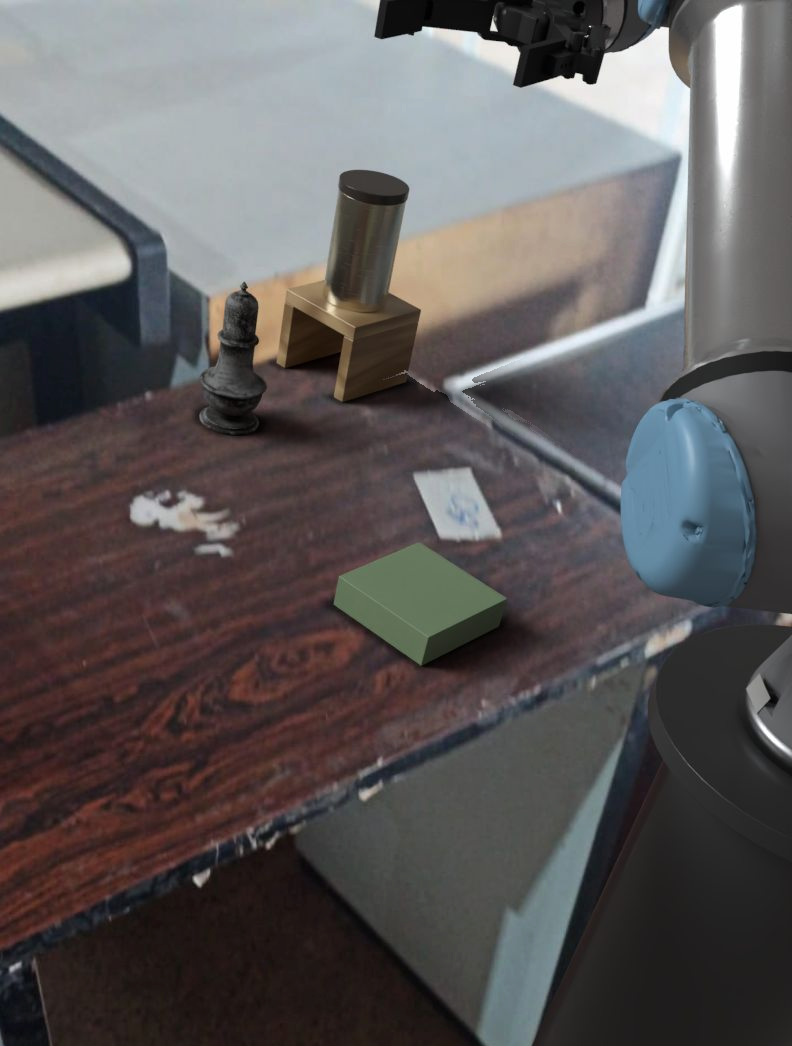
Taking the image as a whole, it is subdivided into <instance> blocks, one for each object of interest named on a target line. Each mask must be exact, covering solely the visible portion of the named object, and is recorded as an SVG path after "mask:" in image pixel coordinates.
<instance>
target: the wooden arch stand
mask: <svg viewBox="0 0 792 1046" xmlns="http://www.w3.org/2000/svg"><path fill="white" fill-rule="evenodd" d="M324 281H325V279H324V280H319V281H315V282H310V283H306V284H302V285H298V286H293V287H290V288H286V292H285V299H284V303H283V312H282V319H281V327H280V334H279V343H278V348H277V349H278V350H277V355H276V356H277V357H276V364H277V365H279V366H280V367H283V368H284V369H286V368H291V367H293V366H297V365H301V364H304V363H307V362H311V361H315V360H318V359H321V358H325V357H328V356H331V355H336V354H338V353H340V357H339V364H338V369H337V375H336V380H335V381H336V382H335V387H334V393H333V398H335V399H336V400H337V401H339V402H341V403H344V402H347V401H351V400H354V399H357V398H360V397H364V396H366V395H370V394H373V393H377V392H378V391H383V390H386V389H389V388H392V387H394V386H398V385H401V384H405V383H406V382H407V378H408V374H409V369H410V364H411V360H412V356H413V350H414V346H415V341H416V336H417V331H418V326H419V322H420V317H421V314H422V309H420V308H419V307H417V306H415V305H413V304H411V303H409V302H407V301H405V300H404V299H402V298H401V297H399V296H396V295H395V294H393V293H392V292H391V293H390V292H389V293H388V298H387V303H386V306H385V308H384V309H382V310H380V311H377V312H369V313H363V312H354V311H349V310H345V309H342V308H339V307H337V306H334V305H332V304H331V303H329V302H328V301H327V300H326V299H325V298H324V297H323V287H324ZM404 370H406V371H408V373H405V374H401V375H398V376H395V375H396V374H399V373H401V372H404ZM392 376H395V377H392ZM388 377H389V379H386V378H388ZM390 377H392V378H390ZM383 379H385V380H383Z"/></svg>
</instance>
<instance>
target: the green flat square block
mask: <svg viewBox="0 0 792 1046" xmlns="http://www.w3.org/2000/svg"><path fill="white" fill-rule="evenodd" d="M507 602H508V598H507V597H506V596H504V595H502V594H501V593H499V592H498V591H496V590H495V589H493V587H492V588H491V587H490V586H488V585H487V584H485V583H484V582H482V581H481V580H479V579H478V578H476V577H474V576H473V575H471V574H470V573H469V572H467V571H466V570H463V569H462V568H460V567H459V566H457V564H454V563H453V562H451V561H449V560H448V559H447V558H445V557H444V556H442V555H440V554H438V553H437V552H435V550H432V549H431V548H430V547H428V546H426V545H425V544H423V543H422V542H420V541H418V542H416V543H413V544H412V545H409V546H406V547H404V548H402V549H399V550H396V551H394V552H393V553H390V554H387V555H385V556H383V557H381V558H378V559H376V560H374V561H371V562H368V563H367V564H363V565H361V566H359V567H358V568H355V569H352V570H350V571H348V572H345V573H343V574H341V575H339V576H338V580H337V583H336V589H335V595H334V599H333V605H334V606H335V607H336V608H337V609H339V610H340V611H342V612H343V613H345V614H346V615H347V616H349V617H351V618H352V619H353V620H354V621H356V622H357V623H359V624H360V625H362V626H363V627H365V628H366V629H367V630H369V631H371V632H372V633H373V634H375V635H376V636H378V637H379V638H381V639H383V641H385V642H386V643H388V644H389V645H391V647H393V648H395V649H396V650H398V651H399V652H400V653H402V654H403V655H405V656H406V657H407V658H409V659H410V660H412V661H413V662H415V663H417V664H418V665H419V666H421V667H422V666H424V665H426V664H428V663H429V662H432V661H434V660H435V659H438V658H440V657H441V656H443V655H446V654H448V653H449V652H451V651H453V650H455V649H457V648H459V647H461V646H463V645H465V644H467V643H469V642H471V641H473V640H475V639H477V638H479V637H481V636H483V635H485V634H487V633H489V632H491V631H493V630H494V629H497V628H499V627H500V625H501V621H502V617H503V614H504V611H505V608H506V605H507Z"/></svg>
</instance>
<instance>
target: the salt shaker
mask: <svg viewBox="0 0 792 1046" xmlns="http://www.w3.org/2000/svg"><path fill="white" fill-rule="evenodd" d="M239 288H240V289H239V290H236V291H234V292H231V293H230V294H229V295H228V296H227V297H226V299H225V303H224V312H223V320H222V329H221V330H219V331H218V333H217V335H216V336H217V339H218V340H219V350H218V351H219V352H218V359H217V361H216V362H217V363H216V364H215V366H211V367H209V368H206V369H204V370H203V371H202V372H201V373H200V375H199V382H200V384H201V385H202V393H203V397H204V400H205V401H206V403H207V404H208V405H209V406H207V407H204V408H203V409H202V410H201V411H200V413H199V421H200V422H201V424H202V425H203V426H205V428H207V429H209V430H212V431H213V432H216V433H219V434H222V435H223V434H224V435H229V436H243V435H247V434H251V433H253V432H255V431H256V430H257V429H259V425H260V421H259V418H258V417H257V416H256V414H255V413H253V411H254V410H255V409H256V408H258V406H259V403H260V402H261V401H262V398H263V394H264V393H266V391H267V389H268V384H267V382H266V380H265V379H264V377H263V376H261V375H260V374H259V373H257V372H256V371H255V369H254V359H255V358H254V357H255V350H256V349H255V348H256V347H257V346H258V345H259V343H260V338H259V336H258V335H257V334H256V332H257V324H258V318H259V317H258V316H259V308H260V307H259V301H258V300H257V297H255V296H254V295H253V294H252V293H250V292H249V291H247V289H249V285H248V284H247V283H246V281H243V282H242V283H241V284H240V285H239Z"/></svg>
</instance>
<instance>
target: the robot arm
mask: <svg viewBox="0 0 792 1046" xmlns="http://www.w3.org/2000/svg"><path fill="white" fill-rule="evenodd" d="M492 23H493V24H494V26H495V29H496V30H491V28H492ZM424 27H425V28H432V29H439V30H440V29H442V30H448V31H449V30H450V31H459V32H460V31H461V32H469V33H477V35H478V36H479V37H480V38H481V39H482V40H484V41H490V42H499V43H505V44H506V45H508V46H509V47H515V48H517V51H518V52H519V57H518V62H517V65H516V70H515V73H514V78H513V81H512V82H513V84H512V86H515V87H518V88H520V89H522V88H525V87H529V86H533V85H535V84H539V83H542V82H545V81H550V80H553V79H556V78H558V77H562V78H563V79H565V80H570V79H573V80H574V79H575V76H576V74H579V75H582V76H581V77H582V78H581V80H582V82H584V83H585V84H586V85H590V86H591V85H596V84H597V82H598V79H599V75H600V71H601V67H602V64H603V60H604V57H605V54H611V53H612V54H613V53H621V52H623V51H625V50H628V49H630V48H631V47H634V46H637V44H639V43H641V42H642V41H644V40H645V39H647V38H648V37H650V35H652V34H653V33H654V31H656V30H661V28H668V56H669V57H668V58H669V61H670V65H671V67H672V69H673V71H674V73H675V76H676V77H678V79H679V80H680V81H681V82H682V84H684V85H685V86H686V87H687V88H689V119H688V120H689V121H688V156H687V157H688V159H687V160H688V161H687V191H686V192H687V195H686V197H687V199H686V233H685V234H686V235H685V273H684V274H685V275H684V306H683V307H684V310H683V316H684V317H683V344H682V345H683V348H682V349H683V350H682V371H681V372H680V373H679V374H677V375H676V376H675V377H674V378H673V379H672V380H671V381H670V382H669V383H668V384H667V386H666V387H665V388H664V389H663V391H662V393H661V394H660V396H659V400H658V403H656V404H654V405H652V407H650V408H649V409H648V410H647V411H646V413H645V414H644V415H643V417H642V418H641V419H640V421H639V423H638V424H637V426H636V428H635V430H634V433H633V434H632V438H631V440H630V442H629V445H628V450H627V453H626V457H625V458H626V459H625V464H624V465H625V469H626V475H625V478H624V479H623V480H622V482H621V487H620V488H621V489H620V525H621V534H622V535H621V536H622V541H623V546H624V549H625V553H626V557H627V560H628V563H629V565H630V567H631V568H632V571H633V573H634V574H635V576H636V577H637V579H639V580H640V581H641V582H642V583H643V584H644V585H645V587H647V588H648V590H650V591H651V592H653V593H655V594H658V595H660V596H664V597H667V598H674V599H679V600H685V601H690V602H693V603H695V604H697V605H700V606H702V607H707V608H713V609H715V608H719V607H726V608H735V609H744V610H752V611H760V612H769V613H779V614H787V615H792V0H379V4H378V11H377V17H376V23H375V30H374V34H373V37H374V38H376V39H378V40H385V39H392V38H396V37H399V36H404V35H408V36H415V33H419V32H422V31H423V28H424ZM740 717H741V720H742V723H743V726H744V728H745V730H746V732H747V734H748V735H749V737H750V738H751V740H752V741H753V743H754V744H755V745H756V746H757V747H758V749H759V750H760V751H761V752H762V753H763V754H764V755H765V756H766V757H767V758H768V759H769V760H771V761H772V762H773V763H774V764H775V765H777V766H778V767H779V768H780V769H782V770H783V771H785V772H786V773H788V774H789V775H791V776H792V635H791V636H790V637H789V638H788V639H787V640H786V641H785V642H784V643H783V644H782V645H781V646H780V647H779V648H778V649H777V650H776V651H775V652H774V653H773V654H772V655H771V656H770V657H768V658H767V659H766V660H765V661H764V662H763V663H762V664H761V665H760V666H759V667H758V668H757V669H756V670H755V672H754V673H753V675H752V677H751V679H750V681H749V683H748V685H747V687H746V689H745V691H744V693H743V695H742V697H741V701H740Z"/></svg>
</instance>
